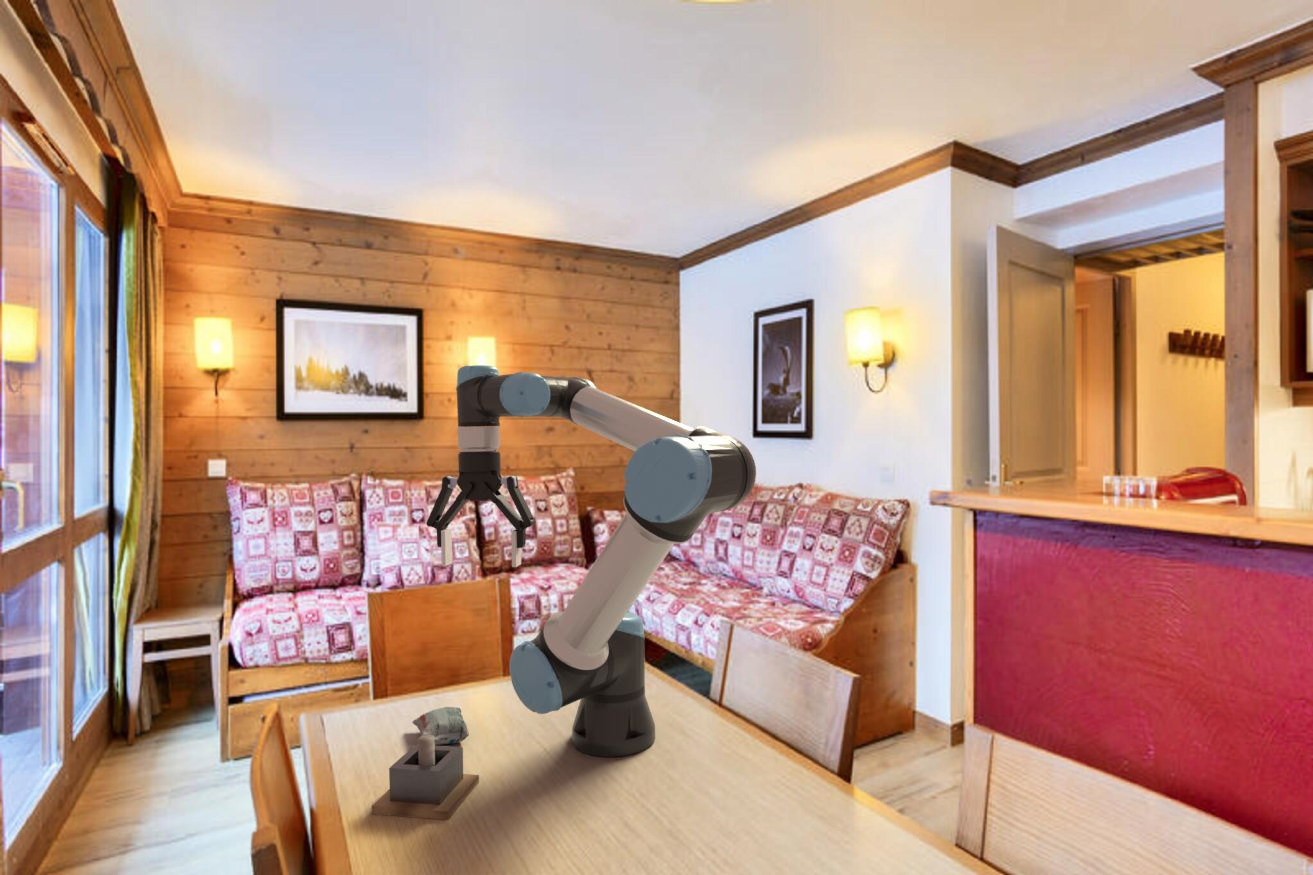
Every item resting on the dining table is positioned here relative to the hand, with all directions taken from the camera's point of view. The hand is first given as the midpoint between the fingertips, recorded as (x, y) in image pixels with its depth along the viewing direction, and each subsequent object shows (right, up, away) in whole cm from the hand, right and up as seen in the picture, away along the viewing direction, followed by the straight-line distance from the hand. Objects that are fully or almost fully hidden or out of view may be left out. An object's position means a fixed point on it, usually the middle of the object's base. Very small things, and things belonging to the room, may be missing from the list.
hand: (481, 565), depth 130 cm
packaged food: (-8, -32, 0) cm, 33 cm away
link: (-3, -31, -21) cm, 38 cm away
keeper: (-3, -32, -21) cm, 39 cm away
